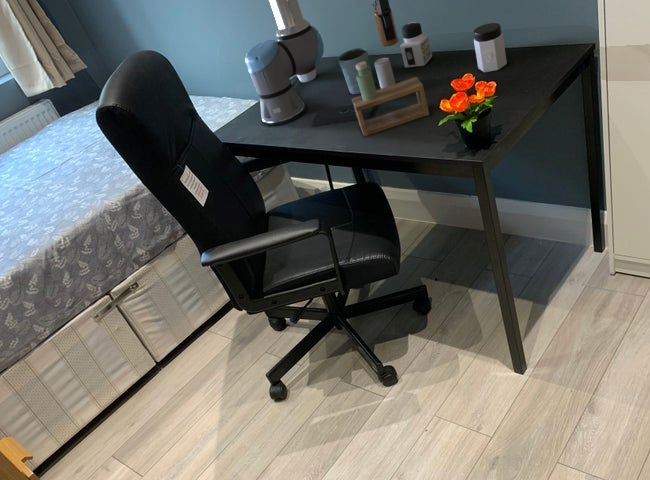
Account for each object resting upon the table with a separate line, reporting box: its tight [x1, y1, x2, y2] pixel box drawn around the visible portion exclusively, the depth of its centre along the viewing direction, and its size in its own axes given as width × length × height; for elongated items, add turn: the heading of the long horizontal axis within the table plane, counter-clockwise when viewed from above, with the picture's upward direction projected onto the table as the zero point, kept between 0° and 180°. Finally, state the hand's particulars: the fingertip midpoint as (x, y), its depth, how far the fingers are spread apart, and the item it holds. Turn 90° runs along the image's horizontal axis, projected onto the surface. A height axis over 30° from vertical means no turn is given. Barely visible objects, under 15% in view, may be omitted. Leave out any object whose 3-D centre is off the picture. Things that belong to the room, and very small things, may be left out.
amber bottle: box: [373, 0, 399, 48], centre depth 168 cm, size 5×5×12 cm
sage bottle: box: [356, 62, 377, 101], centre depth 178 cm, size 4×4×10 cm
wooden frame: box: [351, 76, 430, 138], centre depth 184 cm, size 8×20×9 cm, turn 100°
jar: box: [473, 22, 508, 73], centre depth 194 cm, size 9×8×12 cm
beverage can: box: [374, 57, 396, 89], centre depth 198 cm, size 5×5×12 cm
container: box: [399, 21, 433, 68], centre depth 215 cm, size 8×8×13 cm
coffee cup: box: [295, 64, 317, 83], centre depth 234 cm, size 11×11×12 cm
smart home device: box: [311, 104, 378, 126], centre depth 199 cm, size 8×2×20 cm
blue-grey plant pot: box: [337, 47, 373, 95], centre depth 210 cm, size 10×10×12 cm
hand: (388, 37), depth 170 cm, fingers closed on amber bottle, 5 cm apart
